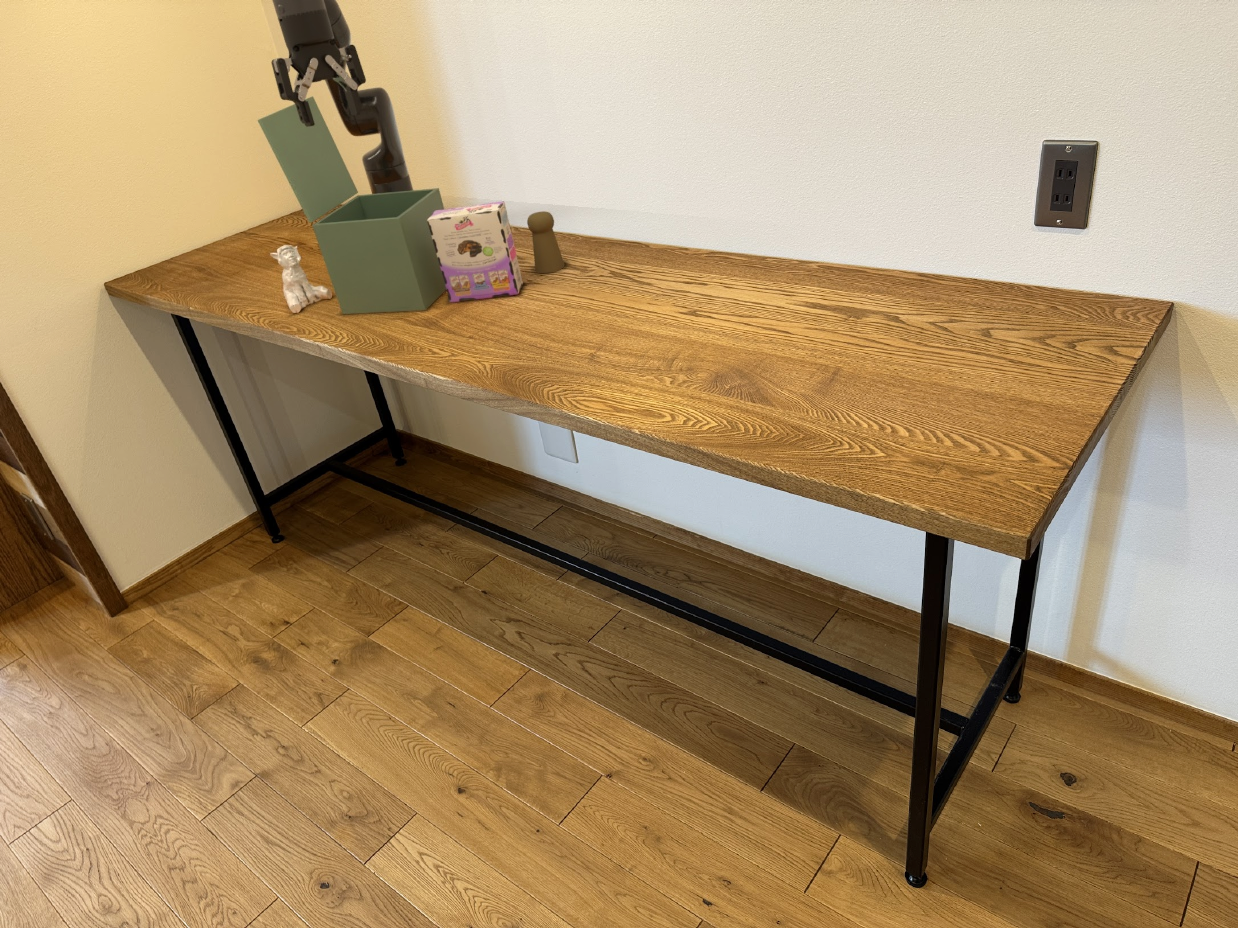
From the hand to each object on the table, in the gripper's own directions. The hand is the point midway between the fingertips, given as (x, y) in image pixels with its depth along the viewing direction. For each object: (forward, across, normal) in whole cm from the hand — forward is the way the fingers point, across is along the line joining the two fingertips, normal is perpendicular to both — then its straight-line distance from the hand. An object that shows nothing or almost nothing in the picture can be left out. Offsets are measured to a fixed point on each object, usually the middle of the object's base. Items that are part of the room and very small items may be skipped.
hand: (333, 120), depth 146 cm
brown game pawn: (+35, -34, +5) cm, 49 cm away
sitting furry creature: (+34, +2, -32) cm, 47 cm away
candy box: (+36, -19, +4) cm, 41 cm away
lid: (+7, -4, -21) cm, 22 cm away
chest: (+35, -11, -14) cm, 39 cm away
